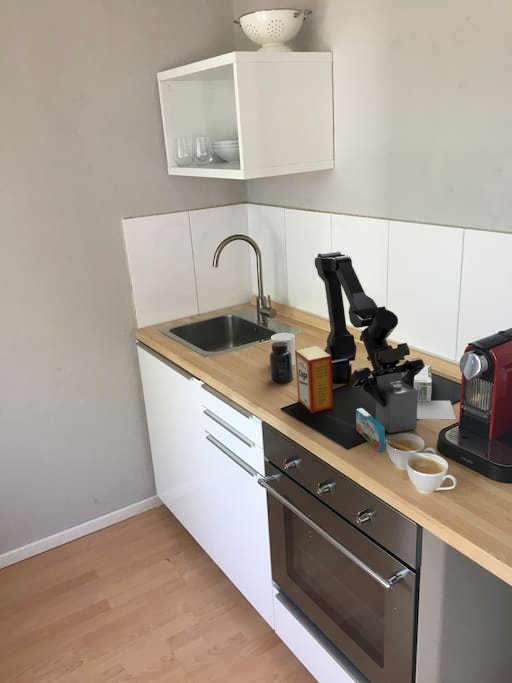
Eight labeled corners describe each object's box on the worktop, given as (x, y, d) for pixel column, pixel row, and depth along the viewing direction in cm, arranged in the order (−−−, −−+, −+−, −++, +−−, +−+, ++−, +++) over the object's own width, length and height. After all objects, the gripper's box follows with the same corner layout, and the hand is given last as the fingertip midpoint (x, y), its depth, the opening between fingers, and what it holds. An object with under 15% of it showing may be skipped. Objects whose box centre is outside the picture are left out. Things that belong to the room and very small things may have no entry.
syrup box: (430, 383, 170) (432, 402, 157) (410, 382, 171) (409, 401, 158) (431, 364, 168) (432, 382, 155) (410, 364, 170) (409, 381, 156)
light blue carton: (385, 450, 136) (384, 427, 134) (379, 452, 135) (379, 428, 133) (361, 429, 147) (361, 407, 145) (356, 430, 146) (355, 408, 144)
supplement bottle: (296, 376, 183) (294, 341, 179) (288, 385, 177) (285, 348, 173) (276, 374, 186) (273, 339, 182) (268, 383, 180) (265, 346, 176)
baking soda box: (298, 400, 166) (295, 348, 161) (318, 396, 168) (316, 344, 162) (311, 413, 157) (308, 359, 152) (333, 408, 159) (331, 354, 154)
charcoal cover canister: (375, 421, 147) (376, 380, 144) (401, 417, 149) (402, 376, 146) (389, 433, 140) (390, 390, 137) (416, 428, 142) (417, 386, 139)
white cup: (269, 368, 192) (267, 339, 188) (277, 359, 198) (275, 332, 195) (291, 369, 189) (290, 341, 185) (299, 361, 196) (297, 333, 192)
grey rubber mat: (411, 420, 149) (411, 418, 148) (408, 402, 159) (408, 400, 159) (455, 421, 146) (455, 419, 146) (450, 402, 157) (450, 400, 156)
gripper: (353, 339, 139) (374, 398, 133) (421, 327, 144) (445, 384, 137) (340, 359, 149) (360, 415, 143) (405, 347, 153) (427, 401, 147)
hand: (398, 403), depth 142 cm, fingers closed on charcoal cover canister, 7 cm apart
